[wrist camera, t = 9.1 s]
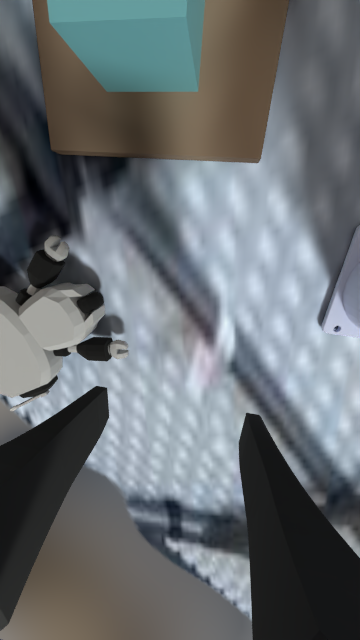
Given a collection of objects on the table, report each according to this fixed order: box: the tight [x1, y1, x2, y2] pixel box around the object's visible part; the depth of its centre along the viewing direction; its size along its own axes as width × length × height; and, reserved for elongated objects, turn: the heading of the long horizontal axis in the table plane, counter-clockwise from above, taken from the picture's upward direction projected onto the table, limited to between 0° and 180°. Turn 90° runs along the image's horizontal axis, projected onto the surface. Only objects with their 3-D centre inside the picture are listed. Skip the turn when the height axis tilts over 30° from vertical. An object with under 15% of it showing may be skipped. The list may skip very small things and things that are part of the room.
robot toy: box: [0, 236, 129, 411], centre depth 20 cm, size 12×4×15 cm
